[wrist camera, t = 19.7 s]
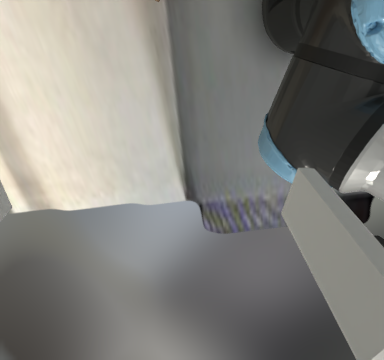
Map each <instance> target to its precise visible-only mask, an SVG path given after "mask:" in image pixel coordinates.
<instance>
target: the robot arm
mask: <svg viewBox="0 0 384 360" xmlns="http://www.w3.org/2000/svg"><path fill="white" fill-rule="evenodd" d="M262 15H263V22H264V26H265V29H266V32H267V34H268V36H269V37H270V39H271V40H272V42H273V43H274V44H275V45H276V46H277V47H279V48H280V49H282V50H283V51H286V52H288V53H291V54H294V56H293V57H292V59H291V61H290V64H289V66H288V68H287V71H286V73H285V75H284V78H283V80H282V82H281V85H280V87H279V89H278V92H277V94H276V96H275V99H274V101H273V103H272V106H271V108H270V110H269V113H267V114H266V116H265V119H264V126H263V128H262V131H261V134H260V136H259V140H258V146H259V151H260V154H261V156H262V158H263V159H264V161H265V162H266V163H267V165H268V166H269V167H270V168H271V169H272V170H273V171H274V172H276V173H277V174H278V175H279V176H281V177H282V178H283V179H285V180H286V181H288V182H290V183H292V186H291V188H290V191H289V194H288V196H287V199H286V202H285V204H284V207H283V210H282V213H281V214H282V216H283V218H284V220H285V222H286V224H287V226H288V228H289V229H290V232H291V234H292V235H293V237H294V239H295V241H296V243H297V245H298V247H299V249H300V251H301V253H302V255H303V257H304V259H305V261H306V263H307V264H308V266H309V268H310V270H311V272H312V274H313V276H314V278H315V280H316V282H317V284H318V286H319V288H320V290H321V292H322V294H323V296H324V298H325V299H326V301H327V303H328V305H329V307H330V309H331V311H332V313H333V315H334V317H335V319H336V321H337V323H338V325H339V327H340V329H341V331H342V332H343V334H344V336H345V338H346V340H347V342H348V344H349V346H350V348H351V350H352V352H353V354H354V356H355V358H356V360H384V239H383V238H381V237H380V236H373V235H372V234H371V232H370V231H369V230H368V229H367V228H366V227H365V226H364V224H363V223H362V222H361V221H360V220H359V219H358V218H357V216H356V215H355V214H354V213H353V212H352V211H351V210H350V209H349V207H348V206H347V205H346V204H345V203H344V202H343V201H342V199H341V198H340V197H339V196H338V195H337V194H336V193H335V191H334V190H333V189H332V187H333V188H335V189H336V190H338V191H339V192H341V193H349V192H356V191H367V192H368V193H370V194H372V195H374V196H375V197H377V198H379V199H381V200H382V201H384V0H263V2H262ZM11 208H12V205H11V203H10V201H9V199H8V197H7V194H6V192H5V190H4V188H3V185H2V183H1V181H0V221H1V220H2V219H3V218H4V217H5V215H6V214H7V213H8V212H9V211H10V210H11Z"/></svg>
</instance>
